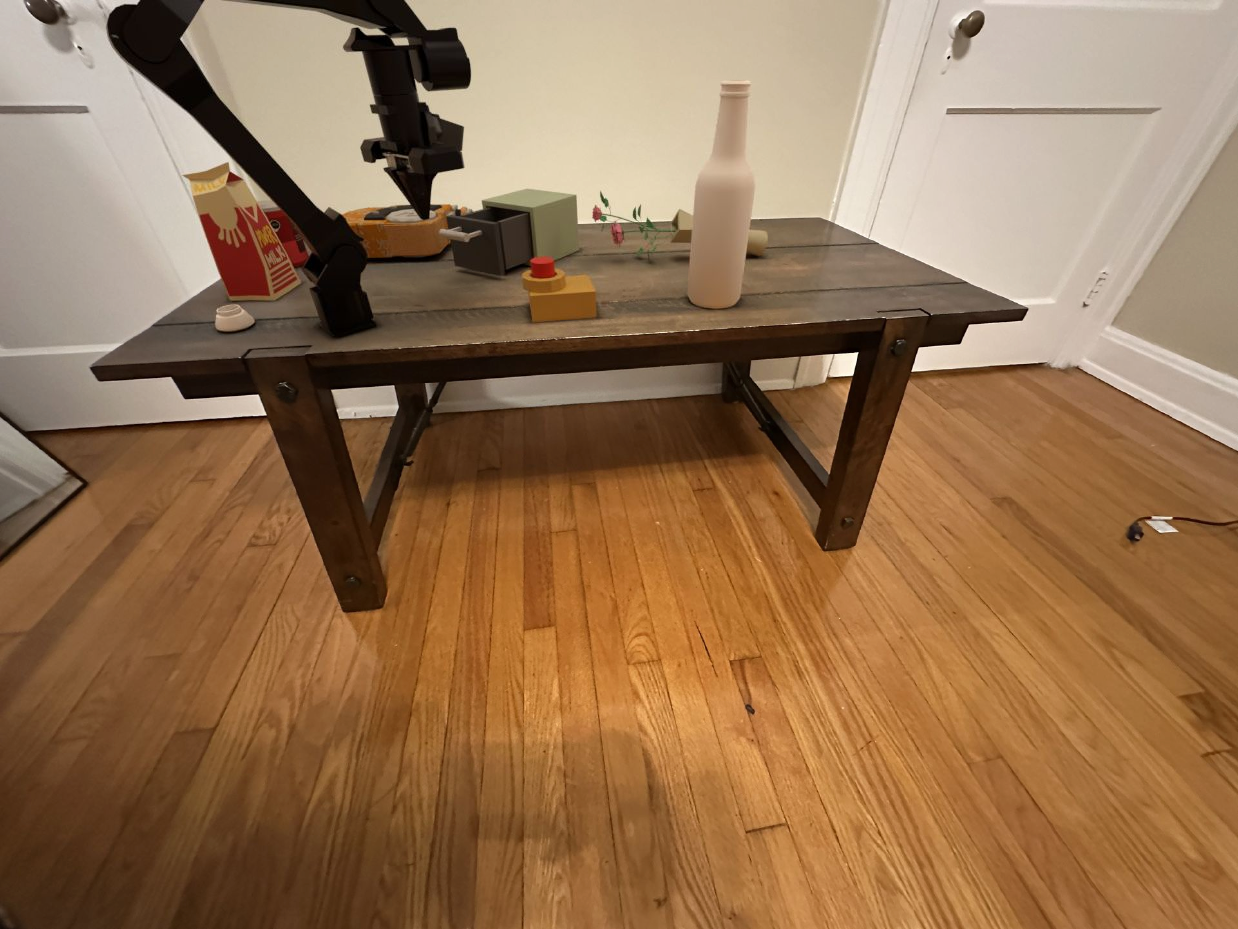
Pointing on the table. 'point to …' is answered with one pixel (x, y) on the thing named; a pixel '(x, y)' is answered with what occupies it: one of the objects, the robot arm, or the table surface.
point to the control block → (560, 297)
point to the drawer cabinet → (545, 219)
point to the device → (402, 229)
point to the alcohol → (723, 207)
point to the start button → (542, 267)
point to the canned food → (285, 233)
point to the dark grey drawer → (490, 239)
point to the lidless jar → (232, 318)
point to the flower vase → (674, 230)
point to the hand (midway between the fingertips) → (425, 219)
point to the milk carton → (241, 237)
